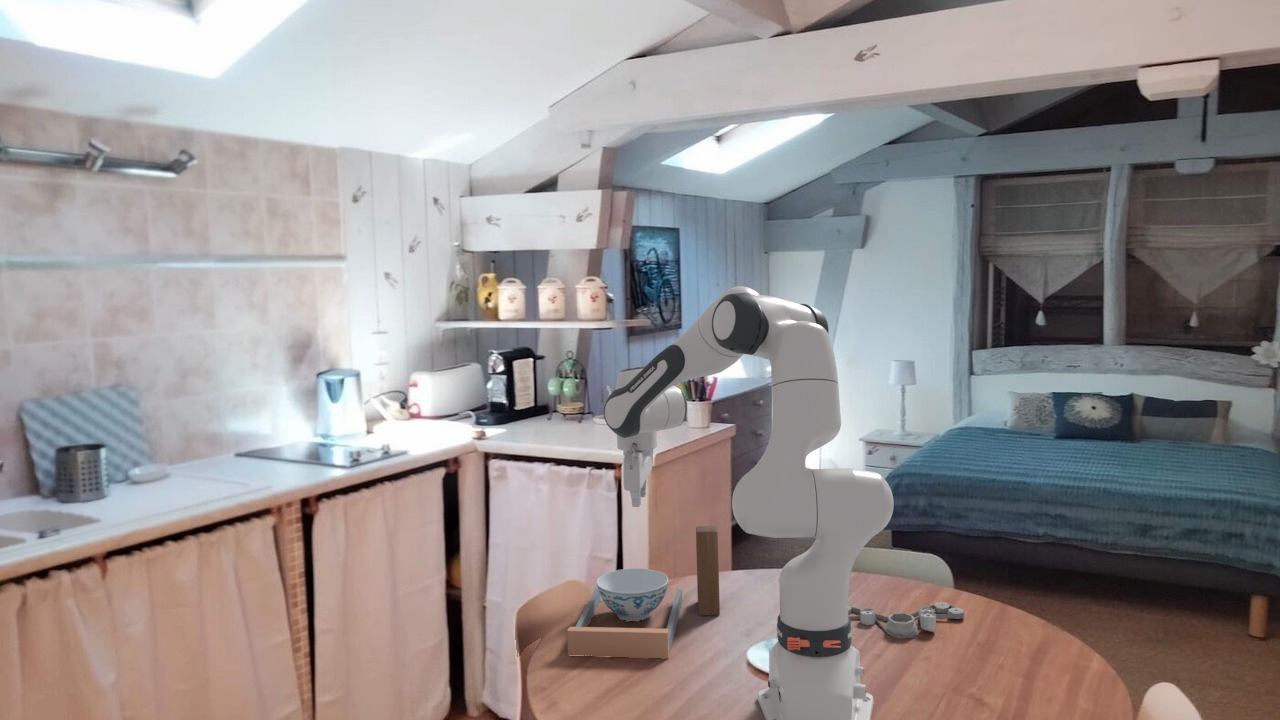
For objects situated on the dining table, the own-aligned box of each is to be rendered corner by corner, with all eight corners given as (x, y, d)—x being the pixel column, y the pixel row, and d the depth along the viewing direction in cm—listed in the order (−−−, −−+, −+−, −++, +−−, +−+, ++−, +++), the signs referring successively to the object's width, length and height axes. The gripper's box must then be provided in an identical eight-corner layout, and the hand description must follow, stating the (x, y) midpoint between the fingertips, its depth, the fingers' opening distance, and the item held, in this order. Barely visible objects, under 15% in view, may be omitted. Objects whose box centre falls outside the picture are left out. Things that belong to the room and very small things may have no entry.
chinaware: (586, 611, 194) (585, 576, 194) (648, 598, 201) (647, 564, 200) (617, 635, 181) (615, 597, 180) (682, 619, 188) (681, 583, 187)
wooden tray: (668, 659, 169) (667, 633, 169) (568, 656, 172) (567, 630, 171) (682, 602, 198) (681, 580, 197) (596, 601, 200) (595, 579, 200)
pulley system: (978, 644, 173) (959, 611, 188) (977, 621, 173) (959, 589, 188) (832, 647, 177) (825, 614, 192) (831, 624, 176) (824, 593, 191)
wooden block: (698, 600, 199) (696, 520, 197) (719, 600, 198) (717, 519, 197) (698, 616, 190) (695, 531, 188) (719, 616, 189) (717, 531, 188)
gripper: (645, 448, 190) (647, 513, 191) (656, 431, 210) (658, 490, 211) (615, 449, 191) (617, 513, 192) (629, 431, 211) (631, 490, 212)
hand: (639, 501), depth 202 cm, fingers open, 7 cm apart
